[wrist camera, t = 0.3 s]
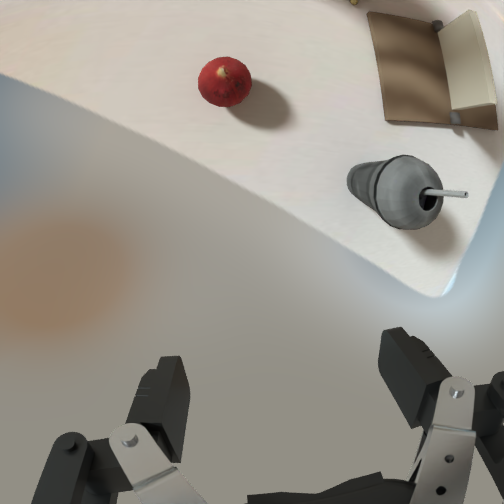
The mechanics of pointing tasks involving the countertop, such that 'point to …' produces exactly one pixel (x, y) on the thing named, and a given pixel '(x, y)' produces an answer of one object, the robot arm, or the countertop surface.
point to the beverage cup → (400, 190)
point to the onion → (224, 82)
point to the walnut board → (418, 74)
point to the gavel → (353, 2)
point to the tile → (467, 63)
